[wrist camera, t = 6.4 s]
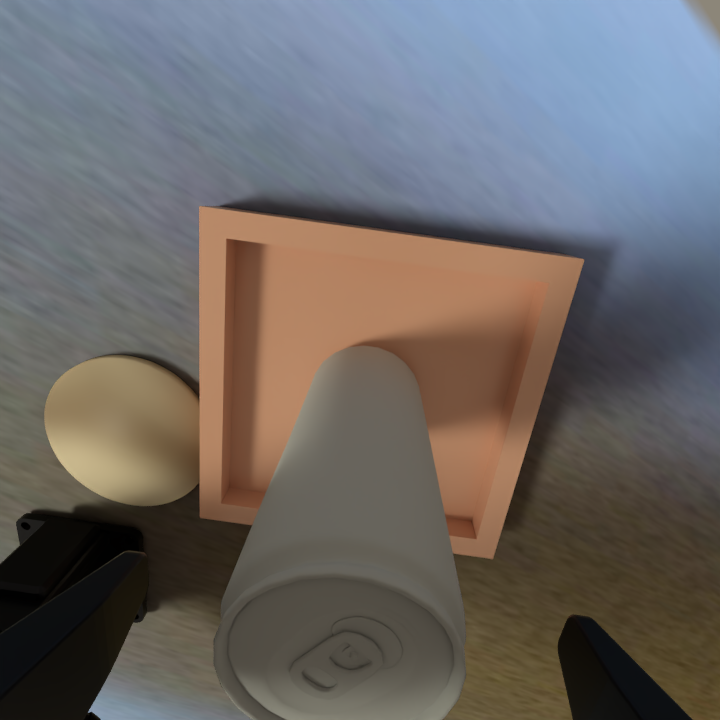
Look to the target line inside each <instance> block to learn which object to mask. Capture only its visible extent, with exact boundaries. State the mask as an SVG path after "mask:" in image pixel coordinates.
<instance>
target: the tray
mask: <svg viewBox="0 0 720 720" xmlns="http://www.w3.org/2000/svg"><path fill="white" fill-rule="evenodd" d="M584 260H585V259H581V258H578V257H574V256H570V255H566V254H561V253H554V252H546V251H539V250H532V249H525V248H517V247H510V246H503V245H496V244H488V243H481V242H474V241H467V240H460V239H452V238H445V237H438V236H431V235H423V234H416V233H409V232H402V231H394V230H387V229H380V228H373V227H366V226H358V225H351V224H344V223H337V222H329V221H322V220H315V219H308V218H300V217H293V216H286V215H279V214H272V213H264V212H257V211H250V210H243V209H235V208H228V207H221V206H199V314H200V518H204V519H211V520H218V521H225V522H232V523H240V524H247V525H252V524H253V522H254V520H255V517H256V515H257V512H258V510H259V508H260V505H261V503H262V500H263V498H264V496H265V493H266V491H267V489H268V486H269V484H270V482H271V479H272V477H273V475H274V472H275V470H276V468H277V465H278V463H279V461H280V458H281V456H282V454H283V451H284V449H285V447H286V444H287V442H288V440H289V437H290V435H291V433H292V430H293V428H294V425H295V423H296V420H297V418H298V416H299V413H300V410H301V408H302V405H303V403H304V400H305V398H306V395H307V393H308V390H309V388H310V385H311V383H312V380H313V378H314V375H315V373H316V371H317V370H318V369H319V367H320V366H321V364H322V363H323V361H324V360H326V359H327V358H328V357H330V356H331V355H332V354H334V353H335V352H338V351H340V350H343V349H346V348H348V347H355V346H371V347H378V348H381V349H384V350H386V351H389V352H391V353H393V354H395V355H396V356H397V357H399V358H400V359H401V360H403V361H404V362H405V363H406V364H407V366H408V367H409V368H410V369H411V371H412V372H413V373H414V375H415V378H416V380H417V383H418V385H419V389H420V394H421V399H422V404H423V409H424V414H425V418H426V423H427V428H428V433H429V438H430V443H431V448H432V453H433V458H434V463H435V468H436V473H437V478H438V483H439V488H440V493H441V498H442V503H443V507H444V512H445V517H446V522H447V527H448V532H449V537H450V542H451V547H452V552H453V553H454V554H461V555H468V556H475V557H482V558H489V559H493V557H494V554H495V550H496V547H497V544H498V541H499V537H500V534H501V531H502V528H503V524H504V521H505V518H506V514H507V511H508V508H509V505H510V501H511V498H512V495H513V492H514V488H515V485H516V482H517V479H518V475H519V472H520V469H521V465H522V462H523V459H524V456H525V452H526V449H527V446H528V443H529V439H530V436H531V433H532V430H533V426H534V423H535V420H536V416H537V413H538V410H539V407H540V403H541V400H542V397H543V394H544V390H545V387H546V384H547V381H548V377H549V374H550V371H551V367H552V364H553V361H554V358H555V354H556V351H557V348H558V345H559V341H560V338H561V335H562V332H563V328H564V325H565V322H566V318H567V315H568V312H569V309H570V305H571V302H572V299H573V296H574V292H575V289H576V286H577V283H578V279H579V276H580V273H581V269H582V266H583V263H584Z"/></svg>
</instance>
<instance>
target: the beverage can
mask: <svg viewBox="0 0 720 720" xmlns="http://www.w3.org/2000/svg"><path fill="white" fill-rule="evenodd" d="M465 641H466V629H465V614H464V607H463V601H462V596H461V592H460V587H459V582H458V577H457V572H456V567H455V562H454V557H453V552H452V547H451V542H450V537H449V532H448V527H447V522H446V517H445V512H444V507H443V503H442V498H441V493H440V488H439V483H438V478H437V473H436V468H435V463H434V458H433V453H432V448H431V443H430V438H429V433H428V428H427V423H426V418H425V414H424V409H423V404H422V399H421V394H420V389H419V385H418V383H417V380H416V378H415V375H414V373H413V372H412V371H411V369H410V368H409V367H408V366H407V364H406V363H405V362H404V361H403V360H401V359H400V358H399V357H397V356H396V355H395V354H393V353H391V352H389V351H386V350H384V349H381V348H378V347H371V346H355V347H348V348H346V349H343V350H340V351H338V352H335V353H334V354H332V355H331V356H330V357H328V358H327V359H326V360H324V361H323V363H322V364H321V366H320V367H319V369H318V370H317V371H316V373H315V375H314V378H313V380H312V383H311V385H310V388H309V390H308V393H307V395H306V398H305V400H304V403H303V405H302V408H301V410H300V413H299V416H298V418H297V420H296V423H295V425H294V428H293V430H292V433H291V435H290V437H289V440H288V442H287V444H286V447H285V449H284V451H283V454H282V456H281V458H280V461H279V463H278V465H277V468H276V470H275V472H274V475H273V477H272V479H271V482H270V484H269V486H268V489H267V491H266V493H265V496H264V498H263V500H262V503H261V505H260V508H259V510H258V512H257V515H256V517H255V520H254V522H253V524H252V527H251V529H250V532H249V534H248V537H247V539H246V542H245V544H244V546H243V549H242V551H241V554H240V556H239V559H238V561H237V564H236V566H235V569H234V571H233V573H232V576H231V578H230V581H229V583H228V586H227V588H226V591H225V593H224V596H223V599H222V602H221V623H220V626H219V628H218V631H217V633H216V635H215V638H214V667H215V670H216V673H217V676H218V678H219V681H220V684H221V687H222V688H223V690H224V691H225V692H226V694H227V695H228V696H229V698H230V699H231V700H232V702H233V703H234V704H235V706H236V707H237V708H238V709H240V710H241V711H242V712H243V713H245V714H246V715H247V716H248V717H249V718H251V719H252V720H442V719H443V718H445V716H446V715H447V714H448V712H449V711H450V710H451V708H452V707H453V706H454V705H455V703H456V702H457V701H458V699H459V697H460V693H461V690H462V687H463V684H464V681H465V677H466V667H465V653H464V644H465Z"/></svg>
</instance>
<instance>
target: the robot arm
mask: <svg viewBox="0 0 720 720" xmlns="http://www.w3.org/2000/svg"><path fill="white" fill-rule="evenodd" d="M16 526H17V531H18V537H19V542H20V546H19V547H18V548H17V549H16V550H14V551H13V552H12V553H11V554H10V555H9V556H8V557H7V558H6V559H5V560H4V561H3V562H2V563H1V564H0V720H101V719H100V718H99V717H98V716H96V715H95V714H94V713H92V712H90V713H88V711H89V709H90V708H91V706H92V704H93V702H94V701H95V699H96V697H97V695H98V693H99V692H100V690H101V688H102V686H103V685H104V683H105V681H106V679H107V677H108V675H109V673H110V672H111V669H112V667H113V665H114V663H115V661H116V659H117V657H118V655H119V652H120V650H121V648H122V646H123V643H124V641H125V639H126V637H127V635H128V632H129V630H130V628H131V626H132V624H133V622H135V623H138V622H141V621H142V620H143V618H144V617H145V615H146V613H147V605H146V592H147V589H148V585H149V573H148V558H147V555H146V554H145V553H143V538H142V533H141V532H140V531H139V530H137V529H136V528H132V527H124V526H117V525H110V524H103V523H96V522H89V521H82V520H75V519H67V518H60V517H53V516H46V515H39V514H32V513H27V514H24V515H23V516H22V517H21V518H20V519H18V521H17V522H16ZM130 537H131V538H130ZM558 655H559V659H560V664H561V668H562V673H563V677H564V682H565V686H566V690H567V695H568V699H569V704H570V708H571V713H572V717H573V720H692V719H691V718H690V717H689V716H688V715H687V714H686V713H685V712H684V711H683V710H682V708H681V707H680V706H679V705H678V704H677V703H676V702H675V701H674V700H673V699H672V698H671V697H670V696H669V695H668V694H667V693H666V692H665V691H664V690H663V689H662V688H661V687H660V686H659V685H658V684H657V683H656V682H655V681H654V680H653V679H652V678H651V677H650V676H649V675H648V674H647V673H646V672H645V671H644V670H643V669H642V668H641V667H640V666H639V665H638V664H637V663H636V662H635V661H634V660H633V659H632V658H631V657H630V656H629V655H628V654H627V653H626V652H625V651H624V650H623V649H622V648H621V647H620V646H619V645H618V644H617V643H616V642H615V641H614V640H613V639H612V638H611V637H610V636H609V635H608V634H607V633H606V632H605V631H604V630H603V629H602V628H601V627H600V626H599V625H598V624H597V623H596V622H595V621H594V620H593V619H592V618H590V617H587V616H581V615H570V616H569V617H568V619H567V621H566V623H565V626H564V628H563V631H562V633H561V635H560V638H559V641H558Z"/></svg>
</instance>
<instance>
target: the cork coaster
mask: <svg viewBox="0 0 720 720" xmlns="http://www.w3.org/2000/svg"><path fill="white" fill-rule="evenodd" d="M44 417H45V428H46V432H47V436H48V439H49V442H50V445H51V447H52V449H53V451H54V453H55V454H56V456H57V458H58V459H59V461H60V462H61V463H62V465H63V466H64V467H65V468H66V469H67V471H68V472H69V473H70V474H71V475H72V476H73V477H74V478H75V479H77V480H78V481H79V482H80V483H82V484H83V485H84V486H86V487H87V488H89V489H90V490H92V491H93V492H95V493H97V494H99V495H101V496H103V497H105V498H108V499H110V500H113V501H116V502H120V503H123V504H129V505H135V506H155V505H162V504H166V503H169V502H172V501H175V500H177V499H180V498H181V497H183V496H185V495H186V494H188V493H189V492H190V491H191V490H193V489H194V488H195V487H196V485H197V484H198V483H199V482H200V399H199V397H198V396H197V395H196V394H195V392H194V391H193V390H192V389H191V388H190V387H189V386H188V385H187V384H186V383H185V382H184V381H183V380H182V379H180V378H179V377H178V376H176V375H175V374H174V373H172V372H171V371H169V370H167V369H166V368H164V367H162V366H160V365H158V364H156V363H154V362H151V361H148V360H145V359H142V358H138V357H133V356H127V355H105V356H100V357H95V358H92V359H90V360H87V361H85V362H83V363H81V364H79V365H77V366H75V367H73V368H71V369H70V370H68V371H67V372H66V373H64V374H63V375H62V376H61V377H60V378H59V379H58V380H57V381H56V383H55V384H54V386H53V387H52V389H51V391H50V393H49V395H48V398H47V401H46V405H45V415H44Z"/></svg>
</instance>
